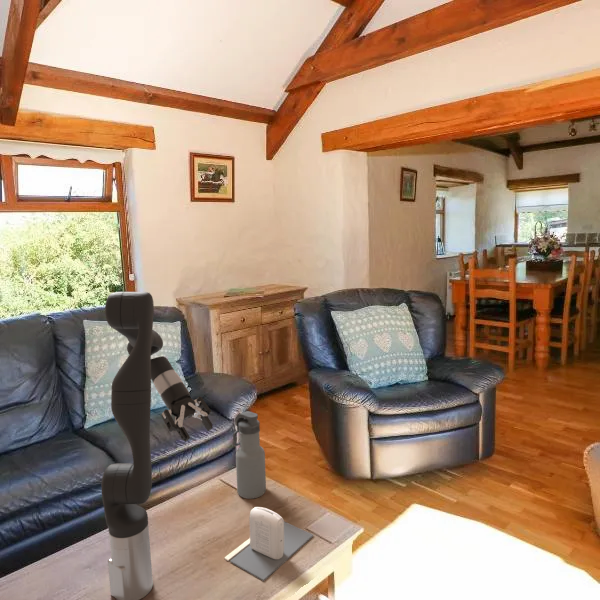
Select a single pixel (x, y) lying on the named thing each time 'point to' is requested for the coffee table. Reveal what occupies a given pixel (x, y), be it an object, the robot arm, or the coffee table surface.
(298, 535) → the mat
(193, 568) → the coffee table surface
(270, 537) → the photo printer
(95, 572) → the coffee table surface
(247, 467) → the water bottle
